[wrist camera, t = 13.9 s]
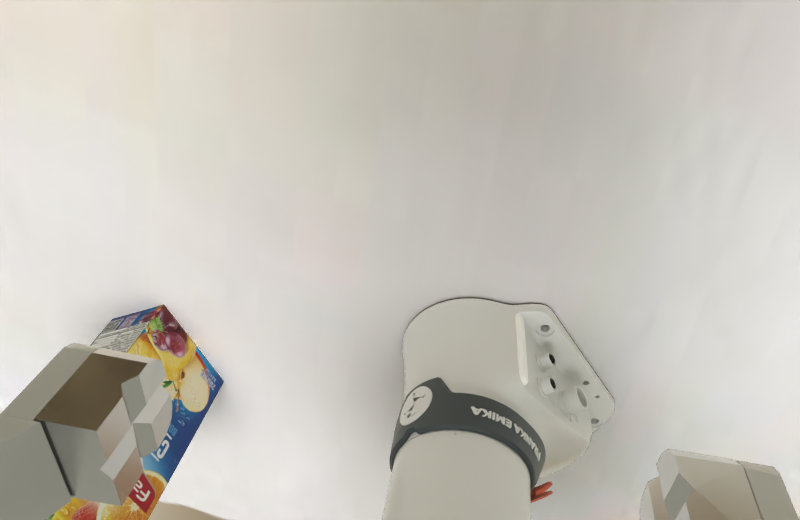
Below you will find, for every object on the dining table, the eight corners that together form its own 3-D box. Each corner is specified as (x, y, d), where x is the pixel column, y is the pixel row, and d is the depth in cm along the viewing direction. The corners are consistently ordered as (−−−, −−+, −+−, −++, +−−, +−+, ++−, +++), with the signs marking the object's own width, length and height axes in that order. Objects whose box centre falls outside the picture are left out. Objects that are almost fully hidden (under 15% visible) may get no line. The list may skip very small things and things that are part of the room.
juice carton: (224, 382, 70) (108, 593, 50) (174, 392, 72) (46, 596, 53) (163, 303, 64) (6, 508, 45) (112, 318, 67) (-58, 517, 47)
